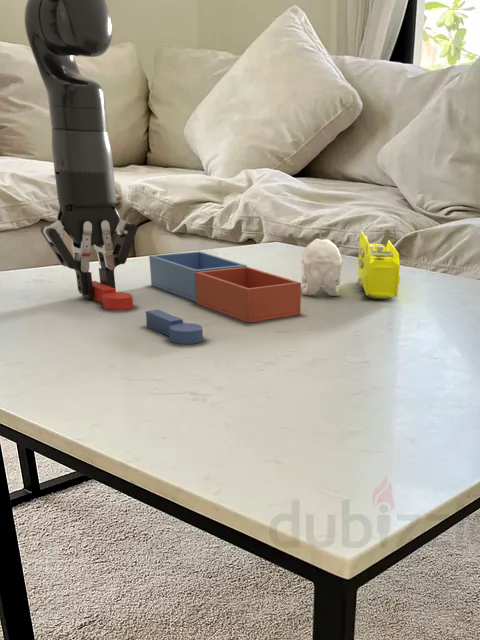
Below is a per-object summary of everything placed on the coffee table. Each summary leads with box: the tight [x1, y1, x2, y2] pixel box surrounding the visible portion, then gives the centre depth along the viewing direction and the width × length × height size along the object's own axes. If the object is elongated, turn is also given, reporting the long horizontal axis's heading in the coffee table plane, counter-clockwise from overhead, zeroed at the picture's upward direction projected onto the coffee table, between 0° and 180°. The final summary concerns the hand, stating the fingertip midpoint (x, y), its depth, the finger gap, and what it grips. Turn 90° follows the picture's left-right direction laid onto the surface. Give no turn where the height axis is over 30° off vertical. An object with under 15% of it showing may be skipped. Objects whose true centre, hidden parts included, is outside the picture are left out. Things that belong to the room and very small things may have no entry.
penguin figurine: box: [301, 238, 344, 297], centre depth 125 cm, size 6×8×12 cm
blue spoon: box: [145, 309, 204, 345], centre depth 99 cm, size 4×10×2 cm, turn 45°
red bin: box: [195, 266, 302, 324], centre depth 112 cm, size 9×13×4 cm
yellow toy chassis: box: [357, 230, 401, 300], centre depth 128 cm, size 16×6×8 cm, turn 6°
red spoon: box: [92, 280, 134, 311], centre depth 111 cm, size 4×10×2 cm, turn 45°
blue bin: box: [148, 250, 248, 303], centre depth 121 cm, size 9×13×4 cm
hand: (97, 295), depth 113 cm, fingers closed
